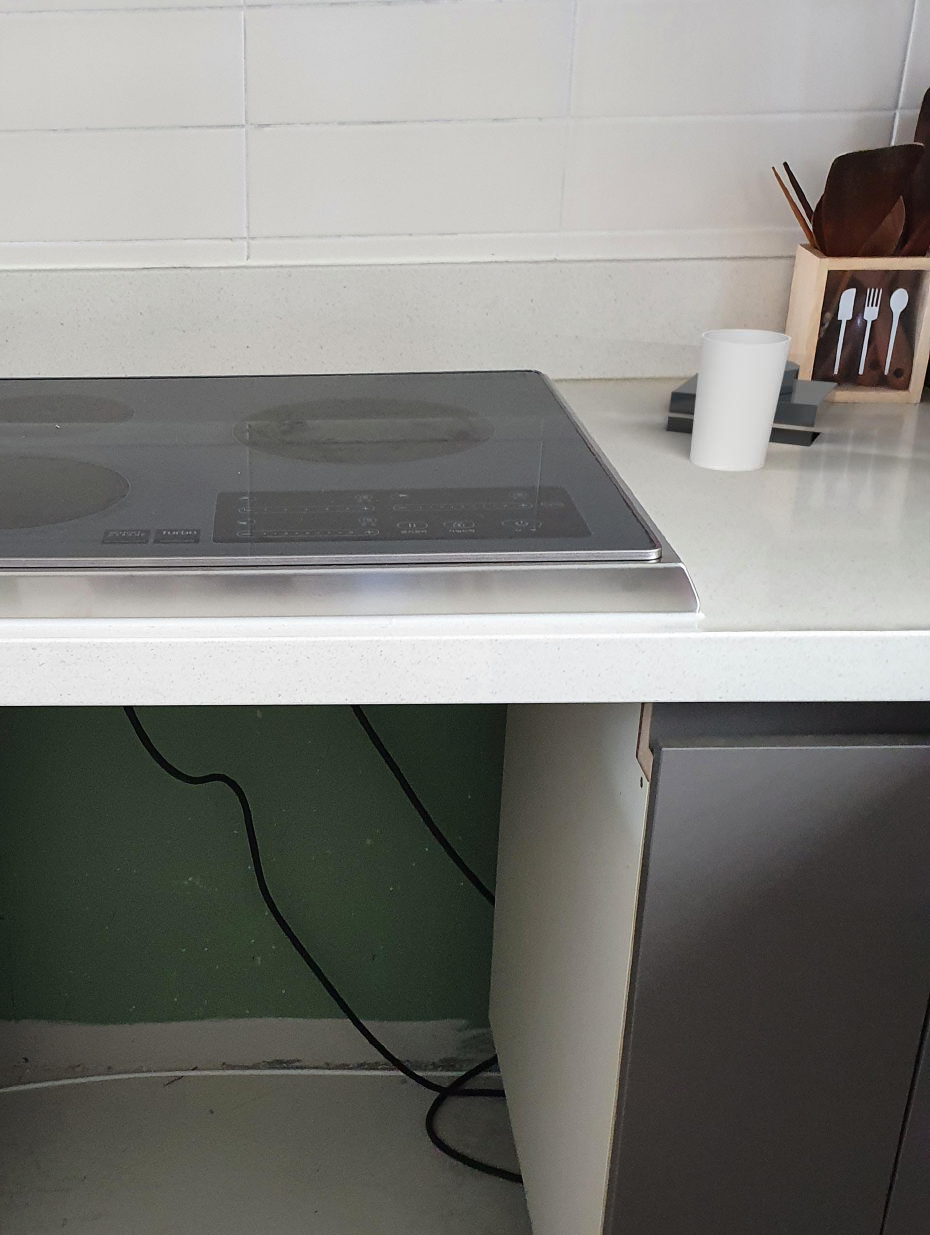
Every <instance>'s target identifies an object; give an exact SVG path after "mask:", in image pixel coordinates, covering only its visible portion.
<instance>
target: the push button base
mask: <svg viewBox="0 0 930 1235" xmlns="http://www.w3.org/2000/svg"><path fill="white" fill-rule="evenodd" d="M800 369H801V365H799V364H797V363H796V362H795V361H791V360H787V361H786V365H785V370H784V374H783V379H782V383H781V388H780V393H779V397H778V402H777V406H776V411H775V416H774V420H773V424H775V425H787V426H796V427H803V428H804V427H805V428H815V427H816V425H817V424H818V423H819V422H820V421H821V420H822V418H824V416H825V415H826V414H827V412H829V410H830V409H831V408H832V406H833V405H834V404H835V400H836V396H837V390H838V385H839V384H838V382H832V381H831V382H830V381H822V380H821V381H820V380H807V379H799V375H800ZM697 381H698V372H697V373H695V374H694V375H692V376H691V377H689V379H687V380H686V381H684V382H683V383H682V384H680V385H679V386H677V387H676V388H675V389H674V390H672V391H671V393H670V401H669V409H668V413H670V414H680V415H689V416H694V412H695V402H696V392H697ZM693 423H694V418H691V417H690V418H689V417H680V416H671V415H669V416H667V422H666V430H665V431H666V432H672V433H683V434H690V435H692V433H693ZM821 434H822V431H814V430H813V431H812V430H804V429H794V428H785V427H784V428H783V427H774V426H772V429H771V434H770V438H769V443H772V444H783V445H792V446H799V447H801V446H802V447H811V446H812V444H813V443H814V442H815V441H816V439H818V437H819V436H820V435H821Z"/></svg>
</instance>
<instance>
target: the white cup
mask: <svg viewBox="0 0 930 1235" xmlns="http://www.w3.org/2000/svg"><path fill="white" fill-rule="evenodd" d="M700 340H701V341H700V351H699V362H698V371H697V373H698V381H697V392H696V402H695V412H694V415H693V419H694V423H693V433H692V434H691V442H690V444H691V445H690V446H691V447H690V455H689V462H691V463H692V464H693V465H695V466H698V467H701V468H704V469H709V470H716V471H725V472H749V471H754V470H759V469H760V468H763V467H764V465H765V461H766V457H767V456H766V455H767V451H768V447H769V443H770V442H769V438H770V434H771V429H772V427H773V424H774V423H773V420H774V416H775V411H776V406H777V402H778V397H779V393H780V388H781V383H782V379H783V374H784V370H785V365H786V361H788V357H789V356H788V355H789V350H790V346H791V342H792V337H791V336H790V335H788V334H785V333H781V332H777V331H771V330H762V329H746V328H730V329H729V328H728V329H727V328H725V329H723V328H722V329H715V330H714V329H713V330H708V331H705V332H702V334H701V339H700Z"/></svg>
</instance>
